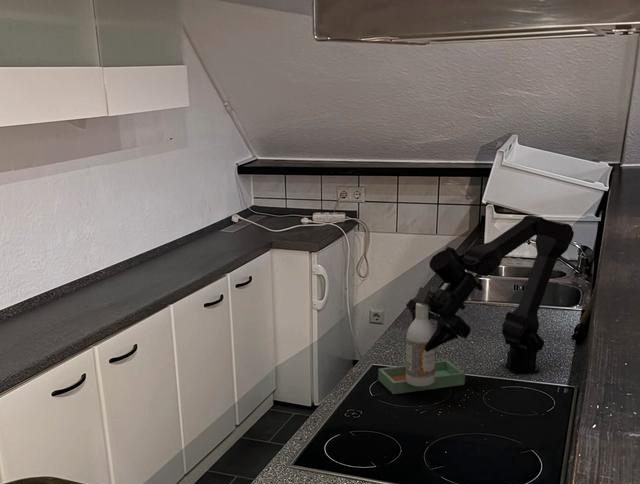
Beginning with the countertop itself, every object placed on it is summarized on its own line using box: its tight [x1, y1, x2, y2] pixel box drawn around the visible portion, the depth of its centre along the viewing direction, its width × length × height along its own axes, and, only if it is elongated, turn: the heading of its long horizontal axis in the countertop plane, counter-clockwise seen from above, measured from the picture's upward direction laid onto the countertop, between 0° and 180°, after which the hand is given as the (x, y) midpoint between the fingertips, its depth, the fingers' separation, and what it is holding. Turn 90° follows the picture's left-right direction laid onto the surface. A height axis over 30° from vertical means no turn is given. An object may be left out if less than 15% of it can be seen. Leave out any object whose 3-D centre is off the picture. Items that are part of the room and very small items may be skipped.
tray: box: [377, 359, 466, 395], centre depth 195 cm, size 19×10×3 cm, turn 105°
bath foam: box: [405, 301, 437, 387], centre depth 183 cm, size 7×7×20 cm
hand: (416, 346), depth 182 cm, fingers closed on bath foam, 7 cm apart
